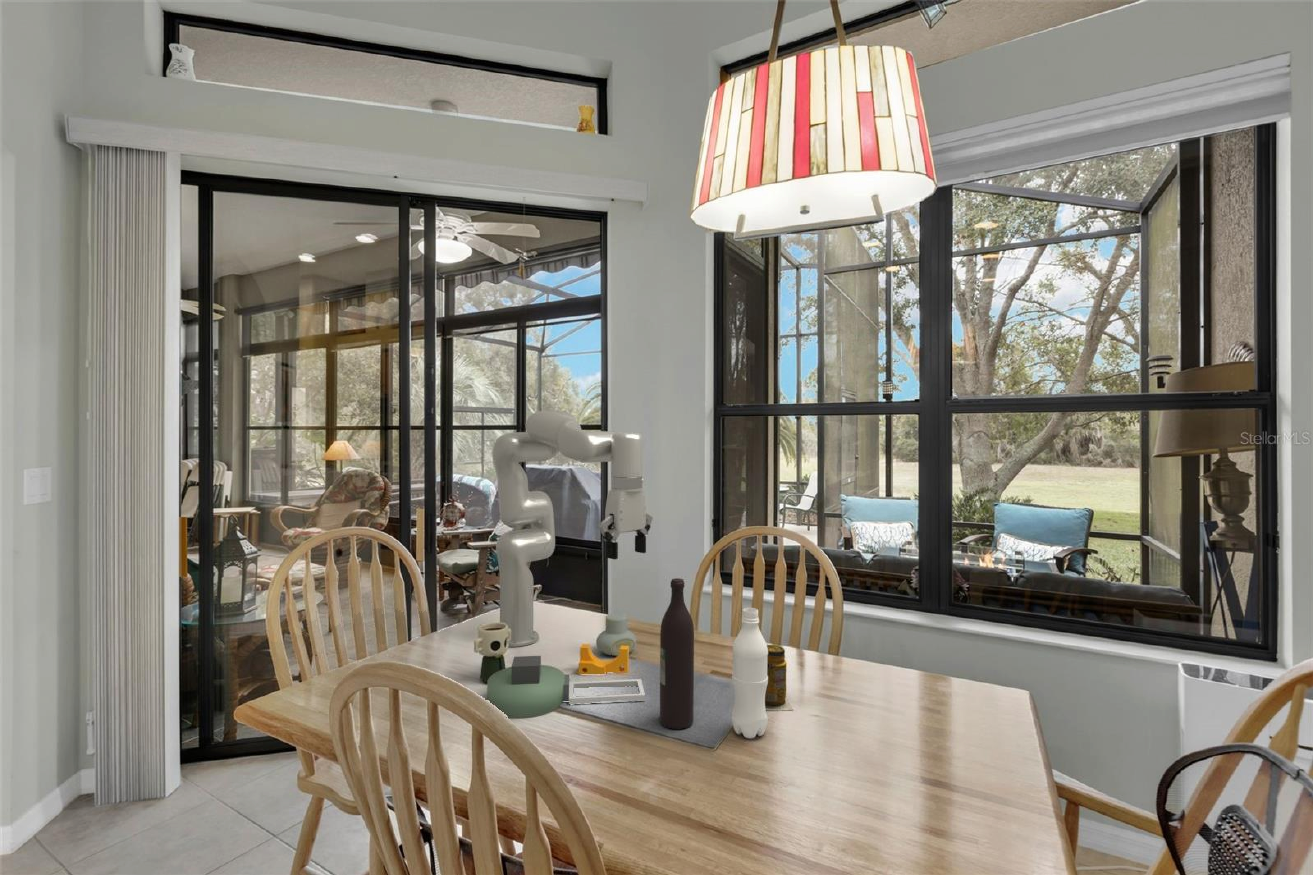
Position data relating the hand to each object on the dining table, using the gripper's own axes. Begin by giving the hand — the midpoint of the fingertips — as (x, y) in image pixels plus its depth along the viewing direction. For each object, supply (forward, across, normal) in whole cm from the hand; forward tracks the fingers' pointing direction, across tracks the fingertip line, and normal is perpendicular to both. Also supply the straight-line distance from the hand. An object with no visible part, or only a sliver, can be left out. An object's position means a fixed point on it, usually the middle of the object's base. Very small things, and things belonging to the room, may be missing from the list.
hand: (626, 555), depth 150 cm
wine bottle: (+31, +7, +21) cm, 38 cm away
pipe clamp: (+31, -1, -9) cm, 33 cm away
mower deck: (+31, +15, -4) cm, 35 cm away
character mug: (+31, +20, -26) cm, 45 cm away
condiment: (+31, -15, +31) cm, 47 cm away
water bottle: (+31, 0, +35) cm, 47 cm away
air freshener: (+31, -13, -17) cm, 38 cm away
